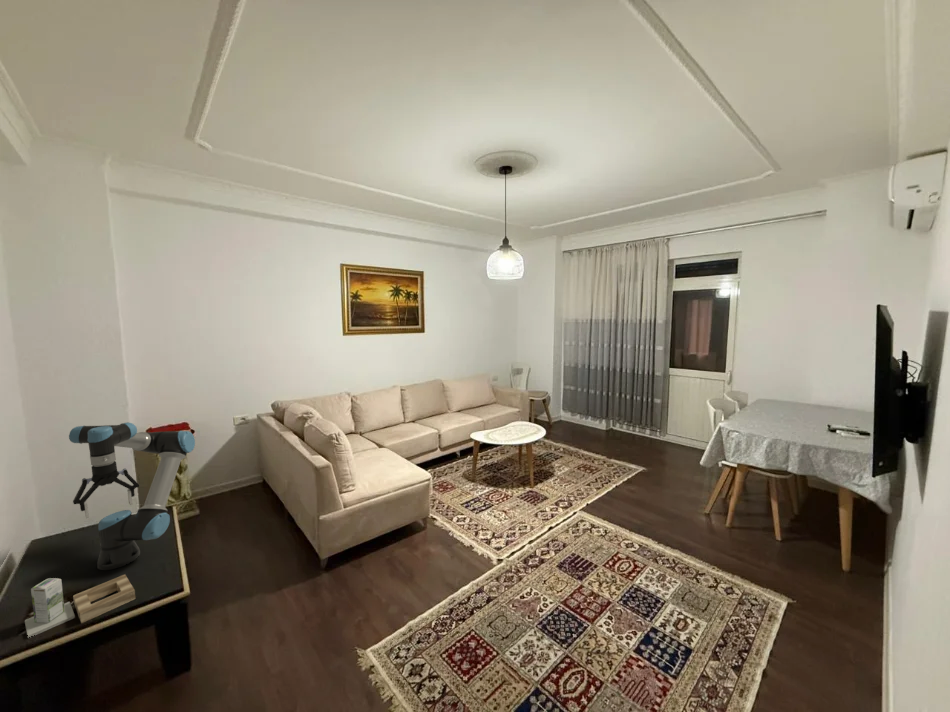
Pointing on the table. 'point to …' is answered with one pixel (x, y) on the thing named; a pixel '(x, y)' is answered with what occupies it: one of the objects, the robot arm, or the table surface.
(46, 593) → the syrup box
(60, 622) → the mat
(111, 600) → the socket block
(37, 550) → the table surface
